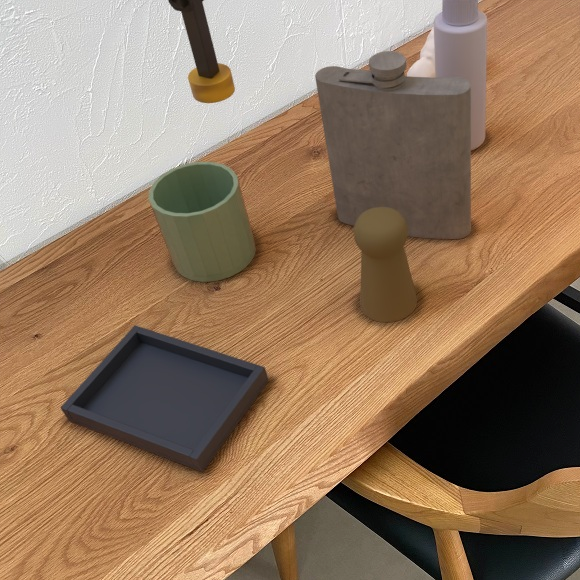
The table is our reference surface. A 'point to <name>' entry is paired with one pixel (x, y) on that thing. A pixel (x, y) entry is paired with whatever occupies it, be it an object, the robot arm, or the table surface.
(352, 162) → the hip flask
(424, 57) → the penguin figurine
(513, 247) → the table surface
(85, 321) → the table surface
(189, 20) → the brush
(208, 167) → the beaker
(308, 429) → the table surface
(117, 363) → the tray
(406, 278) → the peg doll figure
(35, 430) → the table surface
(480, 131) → the spray bottle
